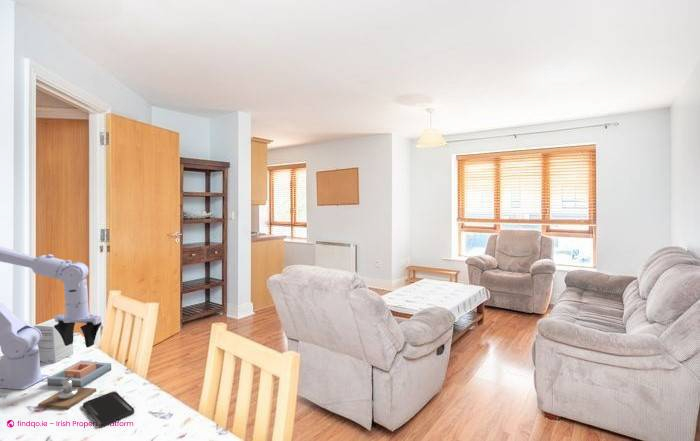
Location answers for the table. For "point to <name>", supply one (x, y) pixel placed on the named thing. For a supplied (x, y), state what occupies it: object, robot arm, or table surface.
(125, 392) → the table surface
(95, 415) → the phone
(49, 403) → the base
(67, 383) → the grey stepped cylinder
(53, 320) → the supplement box
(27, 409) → the table surface
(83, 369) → the ring
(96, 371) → the tray
